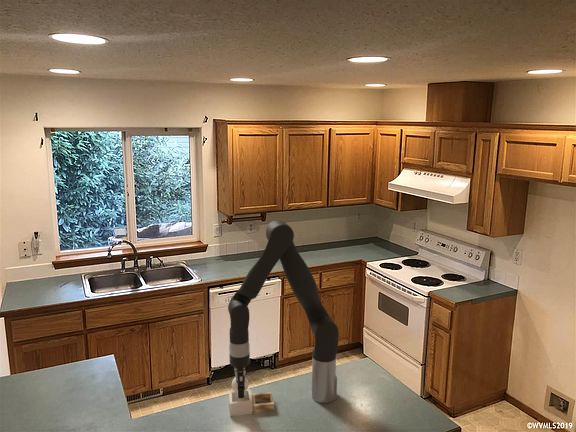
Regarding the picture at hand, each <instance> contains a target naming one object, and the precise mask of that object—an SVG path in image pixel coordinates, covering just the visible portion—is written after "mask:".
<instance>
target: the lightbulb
mask: <svg viewBox="0 0 576 432" xmlns="http://www.w3.org/2000/svg"><path fill="white" fill-rule="evenodd" d="M237 380H238V379H237ZM249 385H250V383H249V380H248V377H246V376H245V390H244V395H245V392H246V390H247V389H249ZM240 386H243V385H240ZM237 387H238V385H237V383H236V376H234V378H233V379H232V381H231V389H232V391H235V393H236V396H237V401H244V398H238V389H237Z"/></svg>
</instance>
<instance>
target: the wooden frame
mask: <svg viewBox="0 0 576 432" xmlns="http://www.w3.org/2000/svg"><path fill="white" fill-rule="evenodd" d="M251 396H252V405H253V414H259V413H268V412H270V413H271V412H275V411H276V410H275V401H274V396H273V392H272V391H268V392H257V393H251ZM258 401H259V402H263V403H257V402H258ZM268 401H269V402H268Z"/></svg>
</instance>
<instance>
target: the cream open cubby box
mask: <svg viewBox="0 0 576 432" xmlns="http://www.w3.org/2000/svg"><path fill="white" fill-rule="evenodd" d="M251 394H252V392H251V388H248V389H247V390H246V392H245V395H244V401H237V396H236V393H235V391H234V390H228V405H229V406H228V407H229V416H232V417H233V415H234V416H241V415H249V414H250V415H251V414H254V413H253V405H252V396H251Z"/></svg>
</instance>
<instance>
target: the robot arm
mask: <svg viewBox="0 0 576 432" xmlns="http://www.w3.org/2000/svg"><path fill="white" fill-rule="evenodd" d="M265 236H266V239H267V244H266V245H265V248H264V251H263V252H262V254H261V256H259V258H258V260H257V261H256V262H255V263H254V264H253V265H252V267H251V268H250V269H249V271H248V273H247V274H246V275H245V278H244V280H243V281H242V283H241V285H240V287H239V289H237V290H236V292H235V293H234V295H232V297H231V299H230V300H229V302H228V305H227V311H228V314H229V317H230V328H229V345H228V349H229V350H228V351H229V352H228V353H229V354H228V355H229V365H230V366H231V367H232V368H234V376H235V377H236V383H237V385H238V387H237V389H238V398H244V390H245V377H246V367H248V366H249V364H250V363H251V354H250V353H251V352H250V349H251V348H250V339H249V336H250V335H249V327H250V309H249V307H248V306H249V304H250V303H251V301H252V300H254V299H256V298H257V297H258V295H259V294H260V292H261V290H262V288H263V287H264V284H266V281H267V279H268V277H269V276H270V274H271V272H272V270H273V269H274V268H275V266H276V264H277V263H278V262H279V261H280V263H281V267H282V269H283V271H284V274H285V277H286V279H287V281H288V285H289V286H290V288H291V291H292V293H293V295H294V296H295V298H296V299H297V301H298V302H299V304H300V305H301V307H302V308H303V311H304V313H305V314H306V317H307V320H308V323H309V326H310V329H311V331H312V334H313V335H314V347H313V349H312V352H311V354H312V355H311V356H312V359H311V360H312V362H311V364H312V365H311V366H312V368H311V369H312V371H311V377H312V378H311V397H312V400H314V401H315V402H317V403H320V404H321V403H322V404H328V403H331V402H333V401H337V398H338V376H337V373H336V372H337V371H336V369H337V354H338V350H339V337H340V336H339V333H340V332H339V327H338V325H337V324H336V323H335V321H334V320H333V319H332V317H331V316H330V315H329V313H328V311H327V310H326V308H325V306H324V305H323V302H322V300H321V296H320V293H319V288H318V285H317V282H316V280H315V278H314V276H313V274H312V272H311V270H310V268H309V266H308V264H307V263H306V262H305V260H304V259H303V257H302V256H301V255H300V252H299V251H298V249H297V248H296V245H295V243H294V238H295V233H294V231H293V228H292V227H291V225H289V224H287V223H286V222H285V221H283V220H278V219H277V220H272V221H270V223H268V224H267V226H266V229H265ZM237 379H238V380H237ZM240 385H243V386H240Z"/></svg>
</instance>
